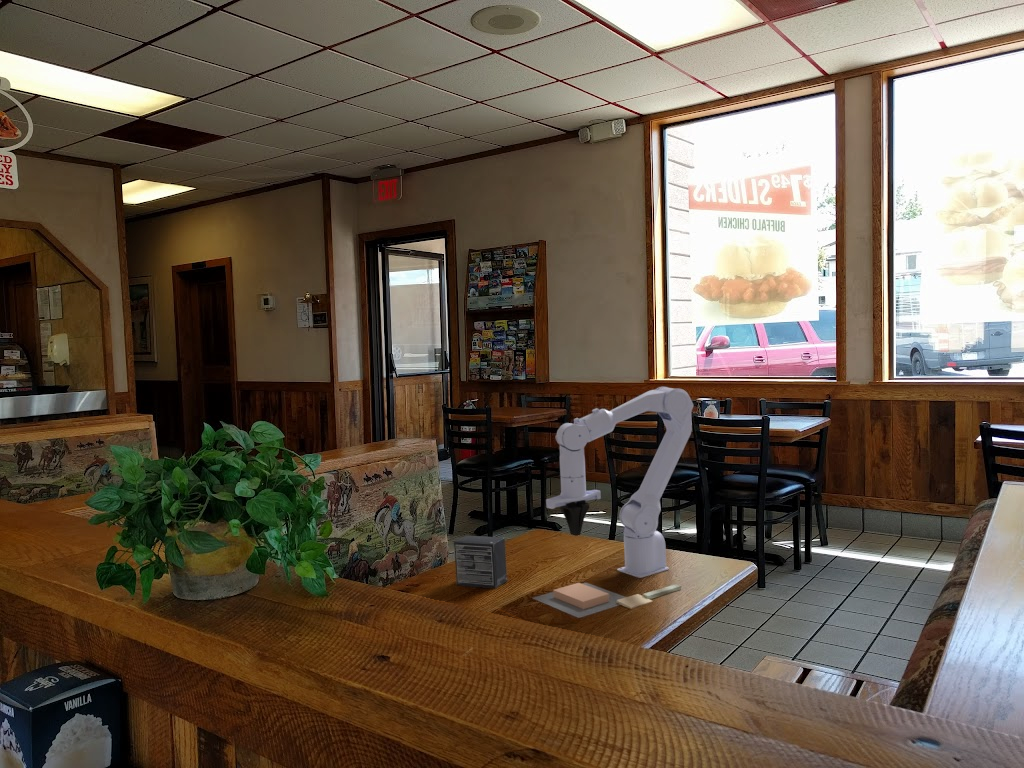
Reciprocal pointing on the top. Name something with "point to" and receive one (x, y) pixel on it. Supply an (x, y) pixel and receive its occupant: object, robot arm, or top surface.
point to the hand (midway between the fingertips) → (575, 534)
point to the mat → (578, 611)
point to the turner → (646, 597)
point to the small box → (480, 561)
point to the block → (581, 595)
